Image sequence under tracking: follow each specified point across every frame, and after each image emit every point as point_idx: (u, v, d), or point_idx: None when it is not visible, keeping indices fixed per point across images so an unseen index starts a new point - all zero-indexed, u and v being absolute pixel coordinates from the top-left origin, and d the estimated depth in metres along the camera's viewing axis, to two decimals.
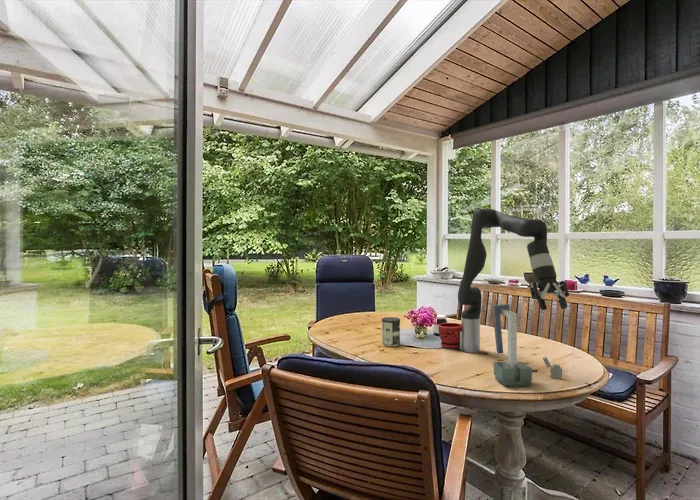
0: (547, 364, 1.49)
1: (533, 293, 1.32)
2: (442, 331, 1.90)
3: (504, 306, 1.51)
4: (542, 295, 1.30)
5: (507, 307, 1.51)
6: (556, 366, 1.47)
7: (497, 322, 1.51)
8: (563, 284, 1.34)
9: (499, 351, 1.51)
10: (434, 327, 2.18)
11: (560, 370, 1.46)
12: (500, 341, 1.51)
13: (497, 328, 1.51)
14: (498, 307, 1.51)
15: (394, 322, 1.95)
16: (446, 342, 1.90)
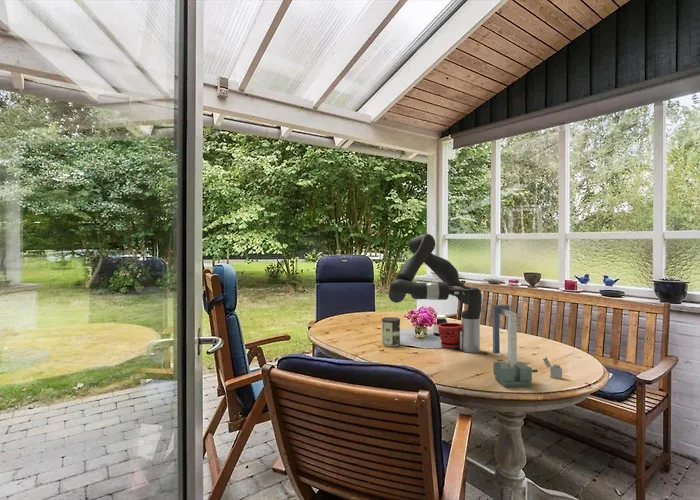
0: (547, 364, 1.49)
1: None
2: (442, 331, 1.90)
3: (504, 306, 1.51)
4: None
5: (507, 308, 1.51)
6: (556, 366, 1.47)
7: (496, 322, 1.51)
8: (457, 295, 1.45)
9: (495, 351, 1.51)
10: (434, 327, 2.18)
11: (560, 370, 1.46)
12: (497, 341, 1.51)
13: (495, 328, 1.51)
14: (498, 307, 1.51)
15: (394, 322, 1.95)
16: (446, 342, 1.90)
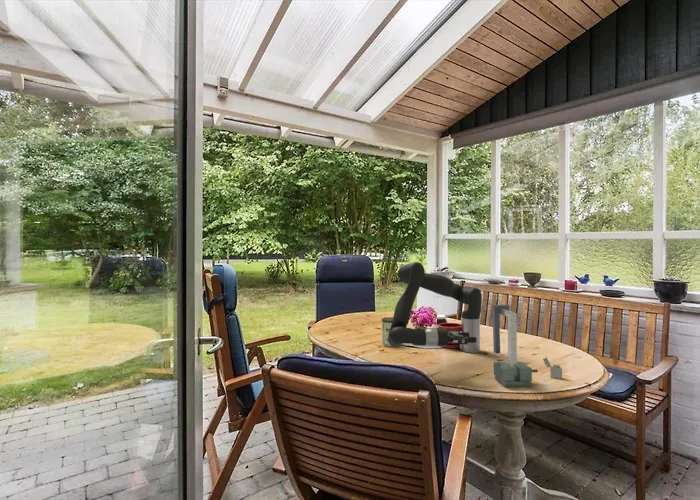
0: (547, 364, 1.49)
1: None
2: None
3: (504, 306, 1.51)
4: None
5: (507, 308, 1.51)
6: (556, 366, 1.47)
7: (496, 322, 1.51)
8: None
9: (496, 351, 1.51)
10: (434, 327, 2.18)
11: (560, 370, 1.46)
12: (498, 341, 1.51)
13: (496, 328, 1.51)
14: (498, 307, 1.51)
15: None
16: None
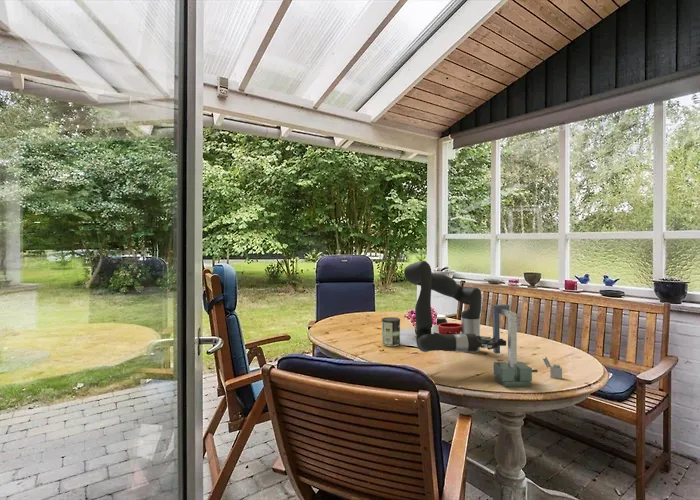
0: (547, 364, 1.49)
1: None
2: (442, 331, 1.90)
3: (504, 306, 1.51)
4: None
5: (507, 308, 1.51)
6: (556, 366, 1.47)
7: (496, 322, 1.51)
8: None
9: (496, 351, 1.51)
10: (434, 327, 2.18)
11: (560, 370, 1.46)
12: None
13: (495, 328, 1.51)
14: (498, 307, 1.51)
15: (394, 322, 1.95)
16: None
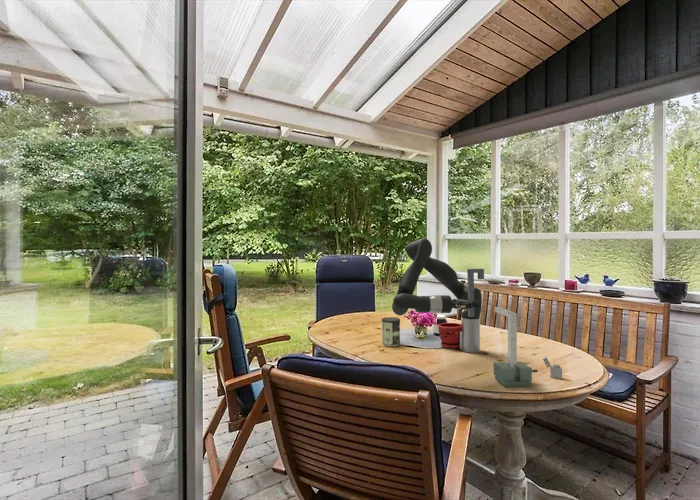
0: (547, 364, 1.49)
1: None
2: (442, 331, 1.90)
3: (479, 270, 1.51)
4: None
5: (482, 271, 1.52)
6: (556, 366, 1.47)
7: (470, 285, 1.51)
8: None
9: (470, 314, 1.52)
10: (434, 327, 2.18)
11: (560, 370, 1.46)
12: None
13: (470, 291, 1.51)
14: (473, 271, 1.51)
15: (394, 322, 1.95)
16: (446, 342, 1.90)
